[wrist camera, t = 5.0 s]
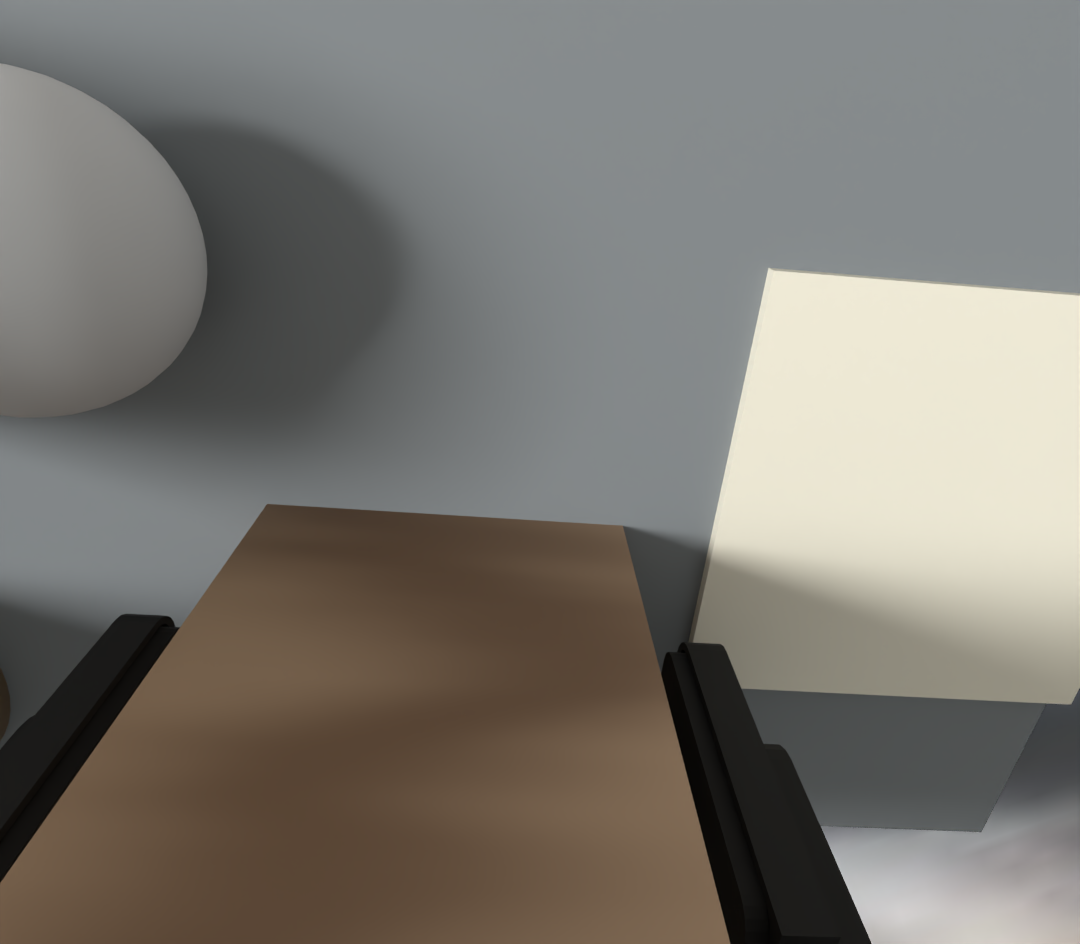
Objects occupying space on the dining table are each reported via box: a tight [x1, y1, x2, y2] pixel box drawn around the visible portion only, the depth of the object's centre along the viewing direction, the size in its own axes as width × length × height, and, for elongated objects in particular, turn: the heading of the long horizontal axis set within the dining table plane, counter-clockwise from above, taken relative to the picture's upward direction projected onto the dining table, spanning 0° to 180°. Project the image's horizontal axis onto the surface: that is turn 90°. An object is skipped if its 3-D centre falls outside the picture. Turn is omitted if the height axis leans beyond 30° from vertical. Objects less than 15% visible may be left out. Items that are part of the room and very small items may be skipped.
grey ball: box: [0, 63, 207, 418], centre depth 7 cm, size 3×3×3 cm
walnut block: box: [0, 504, 730, 944], centre depth 8 cm, size 5×5×7 cm
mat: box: [0, 0, 1080, 832], centre depth 10 cm, size 22×13×1 cm, turn 85°
